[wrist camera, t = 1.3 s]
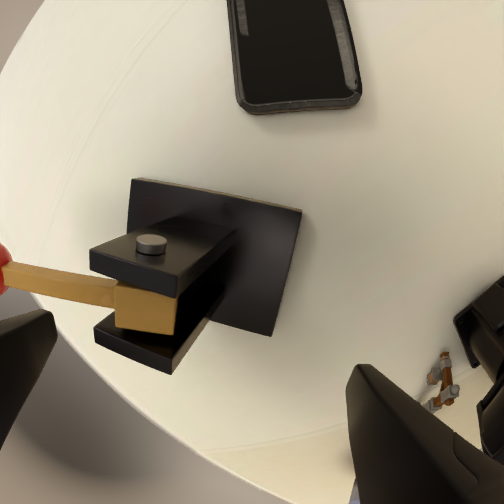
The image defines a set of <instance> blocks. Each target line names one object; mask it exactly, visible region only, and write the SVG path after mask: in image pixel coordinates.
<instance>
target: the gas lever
mask: <svg viewBox="0 0 504 504" xmlns="http://www.w3.org/2000/svg"><path fill="white" fill-rule="evenodd" d="M8 287H13V288H17V289H21V290H25V291H29V292H33V293H38V294H42V295H46V296H51V297H56V298H60V299H65V300H70V301H75V302H80V303H86V304H91V305H96V306H102V307H108V308H114V309H115V325H116V327H120V328H126V329H132V330H138V331H145V332H152V333H159V334H166V335H173V334H174V327H175V320H176V313H177V304H178V297H177V298H176V299H173V298H170V297H167V296H164V295H161V294H158V293H155V292H152V291H148V290H145V289H142V288H140V287H137V286H134V285H131V284H128V283H125V282H122V281H119V280H113V279H106V278H100V277H94V276H88V275H82V274H76V273H70V272H65V271H59V270H54V269H48V268H43V267H38V266H33V265H28V264H23V263H18V262H13V260H12V257H11V255H10V253H9V251H8V250H7V249H6V248H5V247H4V246H3V245H2V244H0V295H2V294H3V293H4V292H5V291H6V290H7V289H8Z"/></svg>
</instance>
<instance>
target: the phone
mask: <svg viewBox="0 0 504 504" xmlns="http://www.w3.org/2000/svg"><path fill="white" fill-rule="evenodd" d="M227 8H228V19H229V30H230V41H231V51H232V62H233V73H234V83H235V94H236V99H237V102H238V104H239V105H240V107H242V108H243V109H244V110H245V111H247V112H248V113H250V114H253V115H262V114H271V113H281V112H293V111H307V110H327V109H347V108H351V107H353V106H354V105H355V104H356V103H357V102H358V101H359V99H360V97H361V95H362V82H361V77H360V71H359V65H358V60H357V55H356V50H355V45H354V41H353V36H352V32H351V28H350V24H349V20H348V16H347V12H346V8H345V4H344V1H343V0H227Z"/></svg>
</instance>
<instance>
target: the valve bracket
mask: <svg viewBox="0 0 504 504" xmlns="http://www.w3.org/2000/svg"><path fill="white" fill-rule="evenodd" d="M302 212H303V211H302V210H301V209H297V208H292V207H288V206H284V205H279V204H275V203H270V202H266V201H261V200H256V199H252V198H247V197H242V196H237V195H232V194H227V193H222V192H217V191H212V190H207V189H201V188H196V187H191V186H185V185H180V184H174V183H168V182H162V181H156V180H150V179H144V178H135V179H132V180H131V189H130V198H129V209H128V221H127V234H126V235H123V236H121V237H118V238H116V239H113V240H111V241H108V242H106V243H103V244H101V245H99V246H96V247H94V248H91V249H90V250H89V260H90V270H92V271H94V272H97V273H100V274H103V275H105V276H108V277H111V278H114V279H116V280H119V281H122V282H125V283H128V284H131V285H134V286H137V287H140V288H142V289H145V290H148V291H152V292H155V293H158V294H161V295H164V296H167V297H170V298H173V299H176V298H177V297H178V304H177V313H176V320H175V327H174V334H173V335H166V334H159V333H152V332H145V331H138V330H132V329H126V328H120V327H116V325H115V311H114V312H112V313H111V314H110V315H108V316H107V317H106V318H105V319H103V320H102V321H101V322H99V323H98V324H97V325H96V326H94V328H93V329H94V338H95V343H97V344H99V345H101V346H103V347H105V348H107V349H109V350H112V351H114V352H116V353H118V354H120V355H123V356H125V357H127V358H129V359H132V360H134V361H136V362H139V363H141V364H144V365H146V366H149V367H151V368H154V369H156V370H159V371H161V372H164V373H166V374H169V375H172V373H173V372H174V370H175V369H176V367H177V366H178V365H179V363H180V362H181V360H182V359H183V357H184V356H185V354H186V353H187V352H188V350H189V349H190V347H191V346H192V344H193V343H194V341H195V340H196V339H197V337H198V336H199V334H200V333H201V331H202V330H203V329H204V327H205V326H206V324H207V323H208V321H209V320H211V321H214V322H218V323H221V324H225V325H228V326H232V327H235V328H239V329H243V330H246V331H250V332H254V333H257V334H261V335H265V336H269V337H271V336H272V334H273V330H274V326H275V322H276V319H277V315H278V311H279V307H280V303H281V299H282V295H283V291H284V287H285V283H286V279H287V275H288V271H289V267H290V263H291V259H292V255H293V251H294V246H295V242H296V238H297V234H298V229H299V225H300V220H301V216H302Z"/></svg>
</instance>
